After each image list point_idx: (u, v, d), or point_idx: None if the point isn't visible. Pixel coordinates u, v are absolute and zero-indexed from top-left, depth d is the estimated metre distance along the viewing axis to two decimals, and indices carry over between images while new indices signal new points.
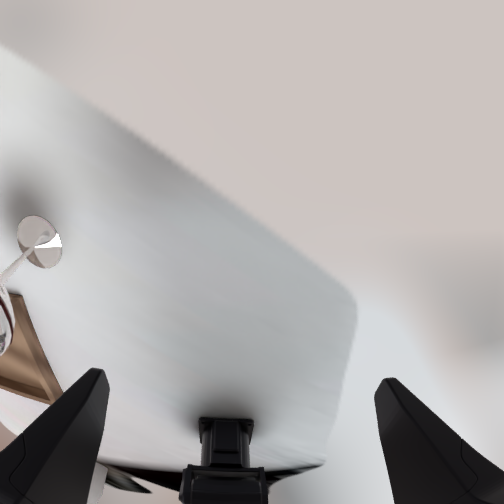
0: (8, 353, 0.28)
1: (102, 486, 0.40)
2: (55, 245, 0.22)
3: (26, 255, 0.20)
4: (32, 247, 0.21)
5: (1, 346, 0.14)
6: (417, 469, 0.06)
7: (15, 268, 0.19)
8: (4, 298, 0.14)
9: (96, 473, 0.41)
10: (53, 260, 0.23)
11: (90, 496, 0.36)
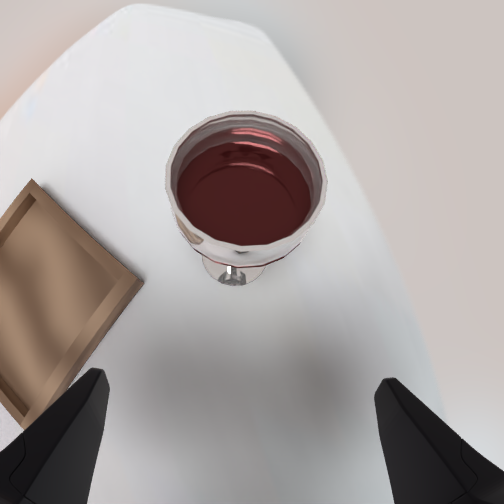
0: (26, 321, 0.20)
1: None
2: (256, 268, 0.24)
3: None
4: None
5: (283, 247, 0.13)
6: (417, 469, 0.06)
7: None
8: None
9: None
10: (237, 279, 0.23)
11: None
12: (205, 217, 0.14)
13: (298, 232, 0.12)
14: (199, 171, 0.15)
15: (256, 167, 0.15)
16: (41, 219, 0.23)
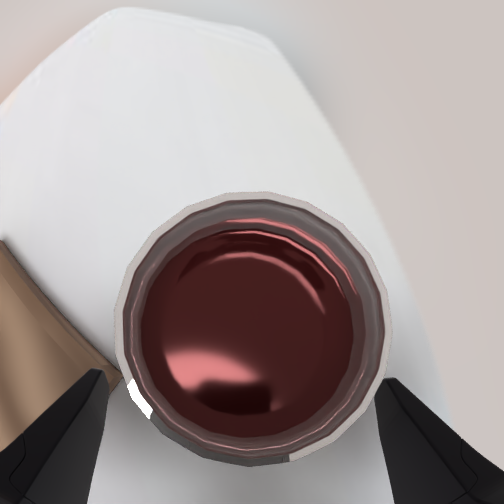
0: None
1: None
2: None
3: None
4: None
5: None
6: (417, 469, 0.06)
7: None
8: None
9: None
10: None
11: None
12: (191, 364, 0.09)
13: (341, 428, 0.06)
14: (179, 284, 0.10)
15: (270, 276, 0.10)
16: (2, 283, 0.17)
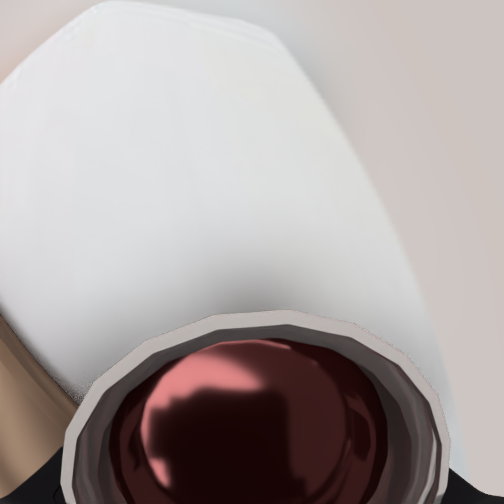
0: None
1: None
2: None
3: None
4: None
5: None
6: None
7: None
8: None
9: None
10: None
11: None
12: (178, 499, 0.05)
13: None
14: (154, 405, 0.06)
15: (283, 393, 0.06)
16: None
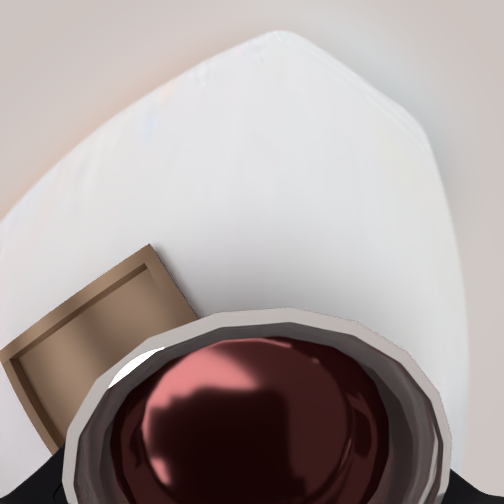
0: None
1: None
2: None
3: None
4: None
5: None
6: None
7: None
8: None
9: None
10: None
11: None
12: (179, 498, 0.05)
13: None
14: (156, 403, 0.06)
15: (285, 392, 0.06)
16: (152, 297, 0.22)
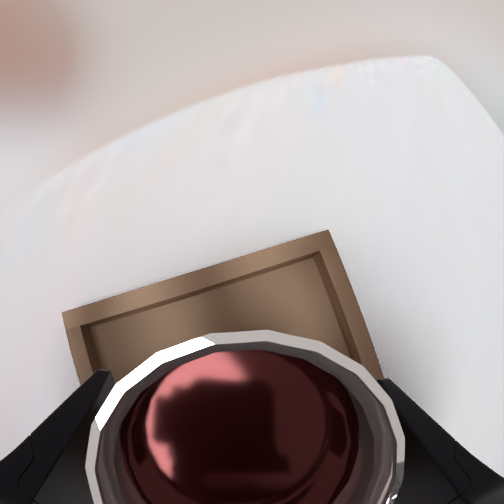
0: None
1: None
2: None
3: None
4: None
5: None
6: (410, 471, 0.06)
7: None
8: None
9: None
10: None
11: None
12: (178, 483, 0.07)
13: None
14: (159, 402, 0.07)
15: (268, 393, 0.08)
16: (311, 293, 0.18)
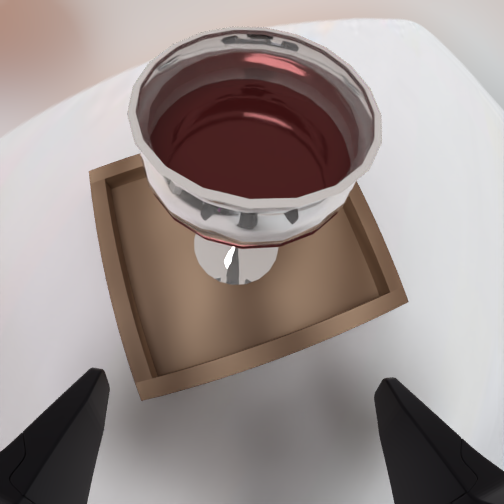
0: None
1: None
2: (263, 262, 0.18)
3: None
4: None
5: (317, 211, 0.08)
6: (417, 469, 0.06)
7: None
8: None
9: None
10: (239, 276, 0.18)
11: None
12: (192, 172, 0.09)
13: (347, 181, 0.07)
14: (187, 112, 0.10)
15: (269, 109, 0.10)
16: None
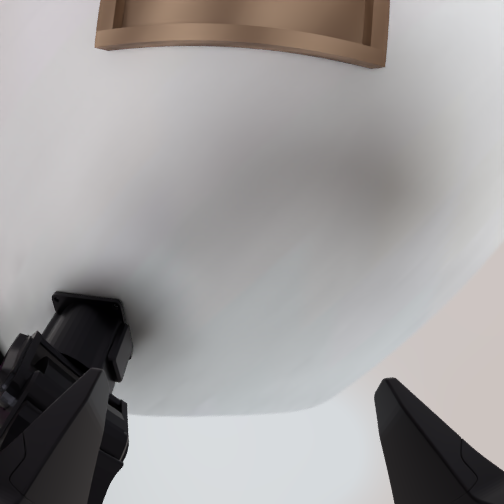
0: None
1: None
2: None
3: None
4: None
5: None
6: (417, 469, 0.06)
7: None
8: None
9: None
10: None
11: None
12: None
13: None
14: None
15: None
16: None
